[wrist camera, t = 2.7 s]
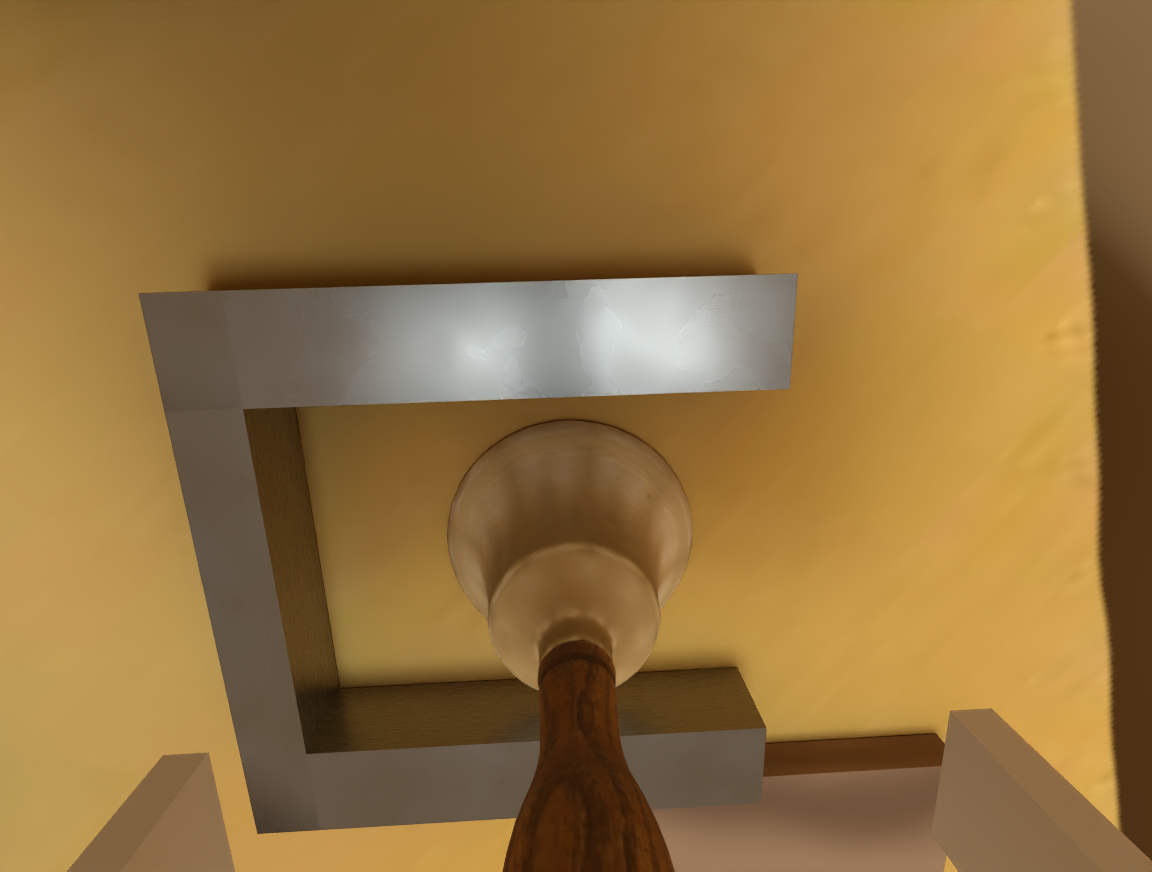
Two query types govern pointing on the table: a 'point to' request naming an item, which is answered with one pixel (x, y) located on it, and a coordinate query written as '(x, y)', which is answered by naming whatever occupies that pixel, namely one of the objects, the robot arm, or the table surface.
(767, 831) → the walnut board
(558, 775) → the hand bell
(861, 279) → the table surface
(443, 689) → the silver c-shaped bracket
